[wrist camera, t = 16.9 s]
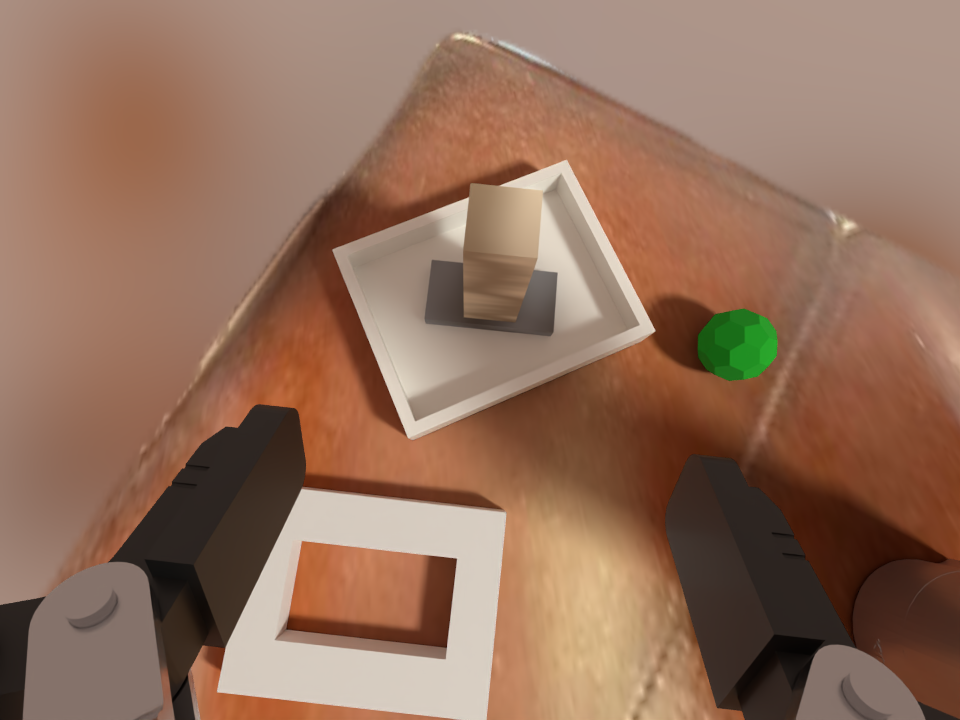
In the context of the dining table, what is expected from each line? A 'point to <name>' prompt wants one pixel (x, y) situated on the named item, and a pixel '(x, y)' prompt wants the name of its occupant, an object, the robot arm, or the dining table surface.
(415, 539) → the slot plate
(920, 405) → the dining table surface
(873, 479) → the dining table surface
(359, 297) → the tray
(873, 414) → the dining table surface
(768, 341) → the polyhedron
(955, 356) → the dining table surface
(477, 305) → the wooden post on base
